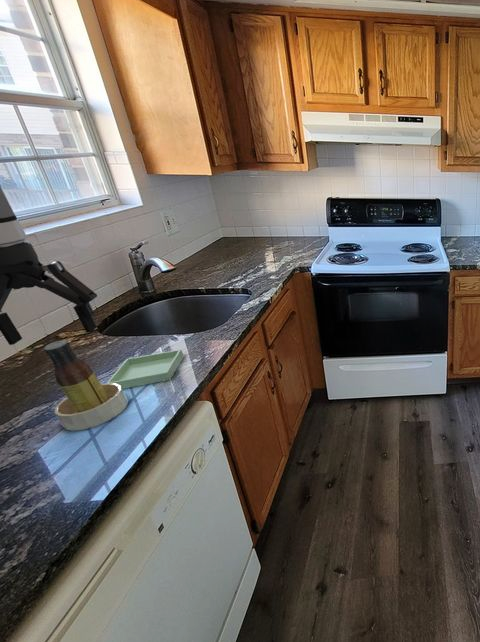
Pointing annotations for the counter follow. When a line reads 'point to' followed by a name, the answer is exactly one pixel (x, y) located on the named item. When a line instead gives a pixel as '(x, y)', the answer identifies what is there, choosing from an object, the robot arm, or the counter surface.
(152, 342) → the counter surface
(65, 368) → the sauce bottle
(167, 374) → the tray
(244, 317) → the counter surface
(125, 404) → the bowl
